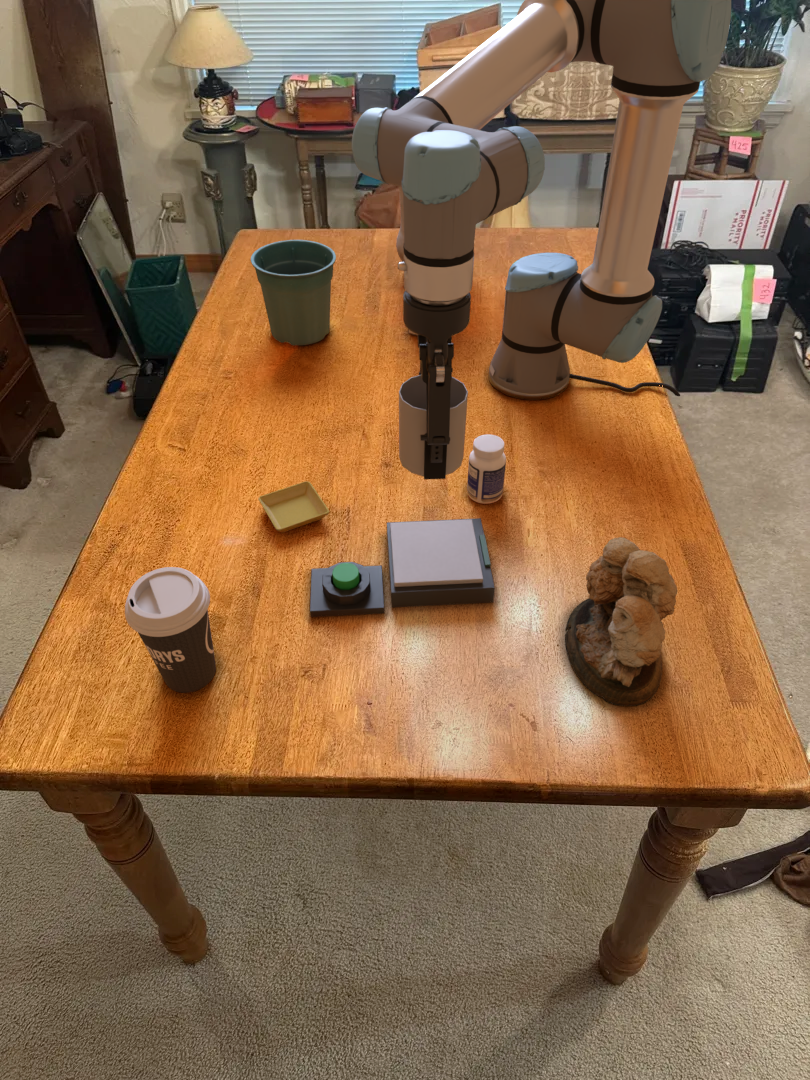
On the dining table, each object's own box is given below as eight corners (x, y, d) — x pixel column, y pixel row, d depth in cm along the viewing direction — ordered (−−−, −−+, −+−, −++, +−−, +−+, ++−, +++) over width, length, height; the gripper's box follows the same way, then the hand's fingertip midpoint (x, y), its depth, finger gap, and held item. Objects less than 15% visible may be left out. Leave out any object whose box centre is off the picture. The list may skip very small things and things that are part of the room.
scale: (479, 532, 114) (481, 513, 112) (493, 602, 104) (495, 583, 102) (386, 536, 114) (386, 518, 111) (391, 607, 104) (391, 588, 101)
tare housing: (382, 570, 109) (381, 556, 107) (384, 613, 103) (384, 598, 101) (312, 574, 108) (310, 559, 106) (310, 617, 103) (308, 602, 100)
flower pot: (348, 316, 163) (344, 242, 152) (330, 355, 152) (323, 278, 140) (275, 310, 165) (265, 236, 154) (251, 348, 154) (238, 271, 142)
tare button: (359, 570, 105) (358, 562, 104) (359, 590, 103) (359, 581, 101) (333, 572, 105) (332, 563, 104) (333, 591, 103) (332, 582, 101)
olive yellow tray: (278, 540, 113) (276, 530, 112) (258, 506, 119) (256, 496, 117) (331, 522, 116) (330, 512, 115) (310, 489, 122) (308, 479, 120)
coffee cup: (157, 644, 99) (128, 564, 89) (231, 639, 100) (210, 559, 89) (145, 706, 92) (112, 627, 82) (224, 700, 93) (202, 621, 83)
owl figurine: (549, 601, 104) (567, 508, 93) (632, 594, 105) (660, 501, 94) (585, 712, 92) (611, 621, 80) (679, 703, 92) (719, 612, 81)
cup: (456, 481, 96) (461, 415, 89) (393, 472, 97) (392, 406, 90) (467, 442, 102) (472, 377, 95) (407, 434, 103) (407, 370, 96)
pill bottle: (506, 486, 122) (512, 435, 115) (497, 508, 118) (503, 457, 111) (471, 478, 124) (475, 428, 117) (462, 500, 120) (465, 450, 113)
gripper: (399, 251, 91) (399, 410, 107) (408, 339, 76) (407, 509, 92) (461, 250, 91) (452, 409, 107) (482, 337, 76) (469, 507, 92)
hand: (431, 455), depth 99 cm, fingers closed on cup, 8 cm apart
